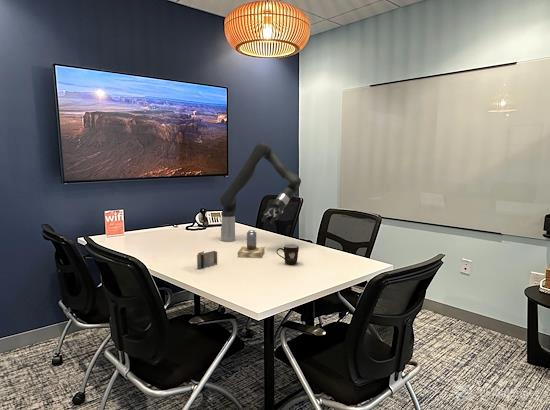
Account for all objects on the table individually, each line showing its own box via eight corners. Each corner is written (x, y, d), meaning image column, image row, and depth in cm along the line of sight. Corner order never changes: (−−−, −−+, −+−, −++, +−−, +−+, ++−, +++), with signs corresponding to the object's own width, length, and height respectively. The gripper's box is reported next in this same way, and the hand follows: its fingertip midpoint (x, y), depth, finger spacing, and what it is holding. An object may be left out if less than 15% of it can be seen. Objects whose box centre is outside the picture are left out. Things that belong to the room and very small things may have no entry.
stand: (237, 257, 215) (237, 251, 214) (242, 251, 229) (242, 245, 228) (261, 257, 214) (261, 252, 213) (264, 251, 227) (264, 246, 227)
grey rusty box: (200, 270, 191) (200, 251, 190) (197, 269, 193) (197, 250, 192) (218, 265, 199) (217, 248, 198) (214, 264, 201) (214, 247, 200)
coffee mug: (300, 262, 205) (300, 244, 204) (296, 266, 197) (296, 248, 196) (280, 260, 209) (280, 243, 208) (275, 264, 201) (275, 246, 200)
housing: (246, 249, 218) (246, 231, 217) (247, 247, 224) (247, 229, 223) (255, 250, 218) (255, 231, 216) (256, 247, 223) (256, 230, 222)
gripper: (270, 197, 235) (256, 216, 230) (285, 199, 224) (270, 219, 219) (277, 204, 239) (262, 224, 234) (291, 207, 228) (277, 227, 223)
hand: (266, 222), depth 226 cm, fingers open, 8 cm apart
